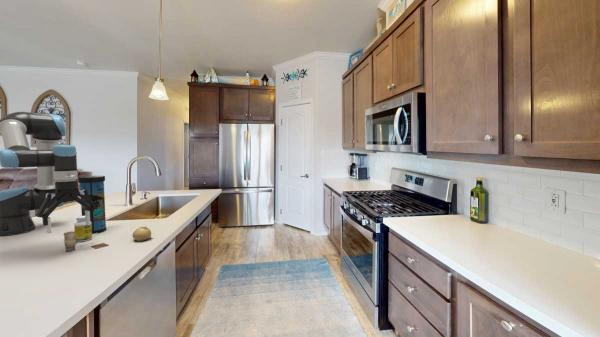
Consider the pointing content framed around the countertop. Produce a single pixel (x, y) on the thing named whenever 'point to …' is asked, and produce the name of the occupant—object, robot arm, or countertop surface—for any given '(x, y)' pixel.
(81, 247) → the countertop surface
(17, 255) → the countertop surface
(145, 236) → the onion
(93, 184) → the advertising column
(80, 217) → the pill bottle
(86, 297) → the countertop surface
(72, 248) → the tan wooden cylinder
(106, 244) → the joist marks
